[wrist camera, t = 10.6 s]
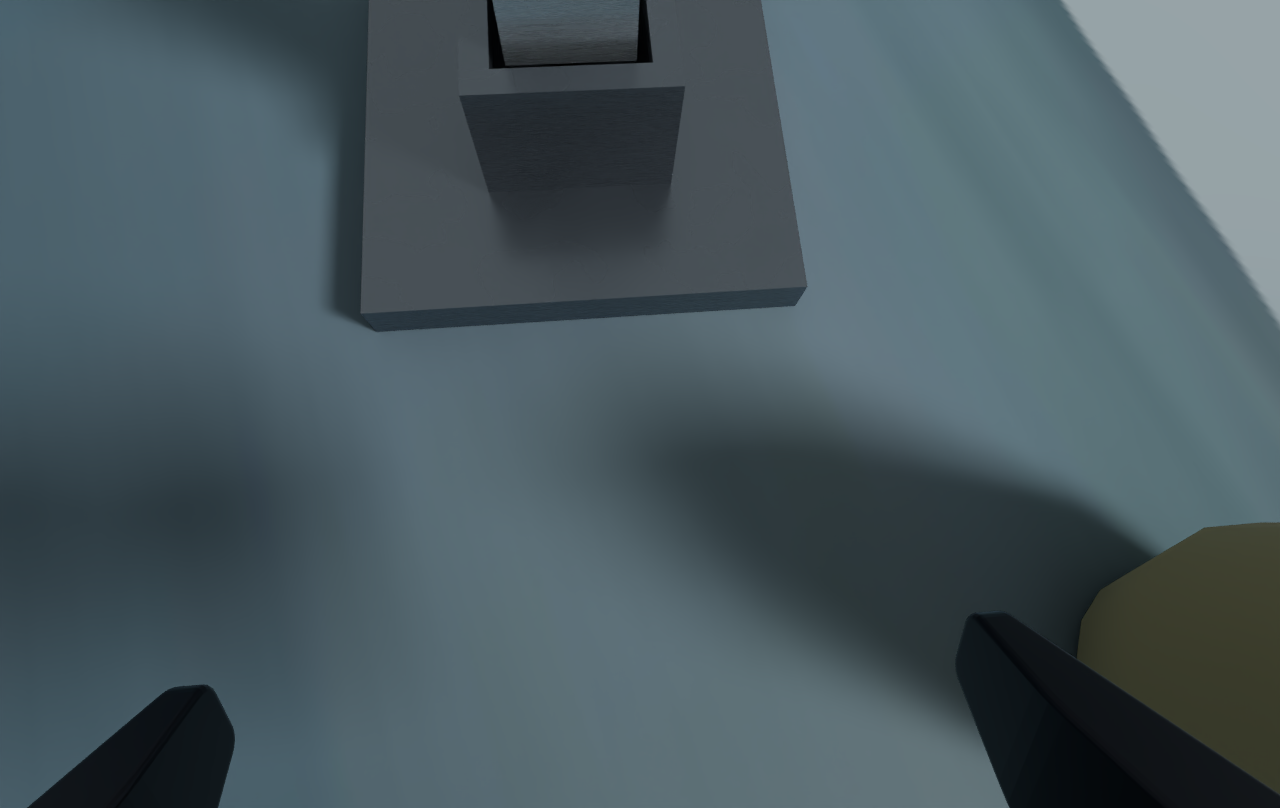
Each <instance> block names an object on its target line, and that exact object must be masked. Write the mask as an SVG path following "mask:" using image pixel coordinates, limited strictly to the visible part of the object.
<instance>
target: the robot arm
mask: <svg viewBox="0 0 1280 808" xmlns="http://www.w3.org/2000/svg"><path fill="white" fill-rule="evenodd" d="M955 667H956V673H957V677H958V680H959V682H960V685H961V688H962V690H963V693H964V695H965V698H966V700H967V703H968V705H969V708H970V711H971V713H972V716H973V718H974V721H975V723H976V726H977V728H978V731H979V734H980V736H981V739H982V741H983V744H984V746H985V749H986V751H987V754H988V757H989V759H990V762H991V764H992V767H993V769H994V772H995V774H996V777H997V779H998V782H999V784H1000V787H1001V789H1002V792H1003V794H1004V796H1005V799H1006V801H1007V803H1008V805H1009V808H1280V794H1279V793H1277V792H1276V791H1274V790H1273V789H1271V788H1270V787H1268V786H1267V785H1265V784H1264V783H1262V782H1261V781H1259V780H1258V779H1256V778H1255V777H1253V776H1252V775H1250V774H1249V773H1247V772H1246V771H1244V770H1243V769H1241V768H1240V767H1238V766H1237V765H1235V764H1234V763H1232V762H1231V761H1229V760H1228V759H1226V758H1225V757H1223V756H1222V755H1220V754H1219V753H1217V752H1216V751H1214V750H1213V749H1211V748H1210V747H1208V746H1207V745H1205V744H1204V743H1202V742H1201V741H1199V740H1198V739H1196V738H1195V737H1193V736H1192V735H1190V734H1189V733H1187V732H1186V731H1184V730H1183V729H1181V728H1180V727H1178V726H1177V725H1175V724H1174V723H1172V722H1171V721H1169V720H1168V719H1166V718H1165V717H1163V716H1162V715H1160V714H1159V713H1157V712H1156V711H1154V710H1153V709H1151V708H1150V707H1148V706H1147V705H1145V704H1144V703H1142V702H1141V701H1139V700H1138V699H1136V698H1135V697H1133V696H1132V695H1130V694H1129V693H1127V692H1126V691H1124V690H1123V689H1121V688H1120V687H1118V686H1117V685H1115V684H1114V683H1112V682H1111V681H1109V680H1108V679H1106V678H1105V677H1103V676H1102V675H1100V674H1099V673H1097V672H1096V671H1094V670H1093V669H1091V668H1090V667H1088V666H1087V665H1085V664H1084V663H1082V662H1081V661H1079V660H1078V659H1076V658H1075V657H1073V656H1072V655H1070V654H1069V653H1067V652H1066V651H1064V650H1063V649H1061V648H1060V647H1058V646H1057V645H1055V644H1054V643H1052V642H1051V641H1049V640H1048V639H1046V638H1045V637H1043V636H1042V635H1041V634H1039V633H1038V632H1036V631H1035V630H1033V629H1032V628H1030V627H1029V626H1027V625H1026V624H1024V623H1023V622H1021V621H1020V620H1018V619H1017V618H1015V617H1014V616H1012V615H1010V614H1008V613H1006V612H1003V611H989V612H978V613H973V614H971V615H970V616H969V617H968V618H967V620H966V622H965V626H964V629H963V633H962V637H961V640H960V644H959V647H958V651H957V654H956V659H955ZM234 744H235V734H234V729H233V726H232V724H231V722H230V720H229V718H228V716H227V714H226V712H225V710H224V708H223V706H222V704H221V702H220V700H219V698H218V696H217V694H216V692H215V691H214V689H213V688H211V687H210V686H208V685H192V686H181V687H174V688H171V689H169V690H167V691H165V692H164V693H162V694H161V695H160V696H159V697H157V698H156V699H155V700H154V701H153V702H151V703H150V704H149V705H148V706H147V707H146V708H144V709H143V710H142V711H141V712H140V713H138V714H137V715H136V716H135V717H134V718H133V719H131V720H130V721H129V722H128V723H127V724H125V725H124V726H123V727H122V728H121V729H120V730H118V731H117V732H116V733H115V734H114V735H112V736H111V737H110V738H109V739H108V740H107V741H105V742H104V743H103V744H102V745H101V746H99V747H98V748H97V749H96V750H95V751H94V752H92V753H91V754H90V755H89V756H88V757H86V758H85V759H84V760H83V761H82V762H81V763H79V764H78V765H77V766H76V767H75V768H73V769H72V770H71V771H70V772H69V773H68V774H66V775H65V776H64V777H63V778H62V779H60V780H59V781H58V782H57V783H56V784H55V785H53V786H52V787H51V788H50V789H49V790H47V791H46V792H45V793H44V794H43V795H42V796H40V797H39V798H38V799H37V800H36V801H34V802H33V803H32V804H31V805H30V806H29V807H27V808H218V806H219V802H220V798H221V795H222V791H223V787H224V784H225V780H226V776H227V773H228V769H229V765H230V762H231V758H232V754H233V750H234Z"/></svg>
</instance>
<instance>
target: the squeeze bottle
mask: <svg viewBox="0 0 1280 808" xmlns="http://www.w3.org/2000/svg"><path fill="white" fill-rule="evenodd" d="M1077 659H1078V660H1079V661H1081V662H1082V663H1084V664H1085V665H1087V666H1088V667H1090V668H1091V669H1093V670H1094V671H1096V672H1097V673H1099V674H1100V675H1102V676H1103V677H1105V678H1106V679H1108V680H1109V681H1111V682H1112V683H1114V684H1115V685H1117V686H1118V687H1120V688H1121V689H1123V690H1124V691H1126V692H1127V693H1129V694H1130V695H1132V696H1133V697H1135V698H1136V699H1138V700H1139V701H1141V702H1142V703H1144V704H1145V705H1147V706H1148V707H1150V708H1151V709H1153V710H1154V711H1156V712H1157V713H1159V714H1160V715H1162V716H1163V717H1165V718H1166V719H1168V720H1169V721H1171V722H1172V723H1174V724H1175V725H1177V726H1178V727H1180V728H1181V729H1183V730H1184V731H1186V732H1187V733H1189V734H1190V735H1192V736H1193V737H1195V738H1196V739H1198V740H1199V741H1201V742H1202V743H1204V744H1205V745H1207V746H1208V747H1210V748H1211V749H1213V750H1214V751H1216V752H1217V753H1219V754H1220V755H1222V756H1223V757H1225V758H1226V759H1228V760H1229V761H1231V762H1232V763H1234V764H1235V765H1237V766H1238V767H1240V768H1241V769H1243V770H1244V771H1246V772H1247V773H1249V774H1250V775H1252V776H1253V777H1255V778H1256V779H1258V780H1259V781H1261V782H1262V783H1264V784H1265V785H1267V786H1268V787H1270V788H1271V789H1273V790H1274V791H1276V792H1277V793H1279V794H1280V523H1251V524H1240V525H1229V526H1218V527H1207V528H1203V529H1201V530H1200V531H1198V532H1196V533H1195V534H1193V535H1191V536H1190V537H1188V538H1186V539H1185V540H1183V541H1181V542H1179V543H1178V544H1176V545H1174V546H1173V547H1171V548H1169V549H1168V550H1166V551H1164V552H1163V553H1161V554H1159V555H1158V556H1156V557H1154V558H1152V559H1151V560H1149V561H1147V562H1146V563H1144V564H1142V565H1141V566H1139V567H1137V568H1136V569H1134V570H1132V571H1131V572H1129V573H1127V574H1126V575H1124V576H1122V577H1121V578H1119V579H1117V580H1116V581H1114V582H1113V583H1111V584H1109V585H1108V586H1106V587H1104V588H1103V589H1101V590H1100V591H1099V593H1098V594H1097V596H1096V597H1095V599H1094V601H1093V602H1092V604H1091V606H1090V607H1089V609H1088V610H1087V612H1086V614H1085V615H1084V617H1083V619H1082V620H1081V627H1080V635H1079V643H1078V651H1077Z"/></svg>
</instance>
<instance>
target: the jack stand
mask: <svg viewBox="0 0 1280 808" xmlns="http://www.w3.org/2000/svg"><path fill="white" fill-rule="evenodd" d="M806 288H807V282H806V275H805V269H804V263H803V257H802V251H801V245H800V238H799V232H798V226H797V220H796V214H795V208H794V201H793V195H792V189H791V183H790V177H789V171H788V164H787V158H786V152H785V146H784V140H783V133H782V127H781V121H780V115H779V109H778V103H777V96H776V90H775V84H774V78H773V72H772V66H771V59H770V53H769V47H768V41H767V35H766V29H765V22H764V16H763V10H762V4H761V0H639V21H638V42H637V61H611V62H586V63H560V64H535V65H509V66H505V61H504V56H503V51H502V46H501V41H500V36H499V31H498V26H497V21H496V16H495V11H494V6H493V1H492V0H369V14H368V52H367V89H366V127H365V165H364V202H363V240H362V278H361V315H362V316H363V317H364V318H365V319H366V320H367V321H368V323H369V324H370V325H371V326H372V327H373V328H374V329H375V330H376V331H377V332H380V331H396V330H412V329H428V328H444V327H460V326H476V325H492V324H508V323H525V322H541V321H557V320H573V319H589V318H605V317H621V316H637V315H653V314H669V313H685V312H702V311H718V310H734V309H750V308H766V307H782V306H795V305H796V304H797V302H798V300H799V299H800V297H801V296H802V294H803V293H804V291H805V289H806Z"/></svg>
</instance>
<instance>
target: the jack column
mask: <svg viewBox="0 0 1280 808" xmlns="http://www.w3.org/2000/svg"><path fill="white" fill-rule="evenodd" d="M492 1H493V6H494V11H495V16H496V21H497V26H498V31H499V36H500V41H501V46H502V51H503V56H504V61H505V66H509V65H535V64H560V63H586V62H611V61H637V42H638V21H639V0H492Z"/></svg>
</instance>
